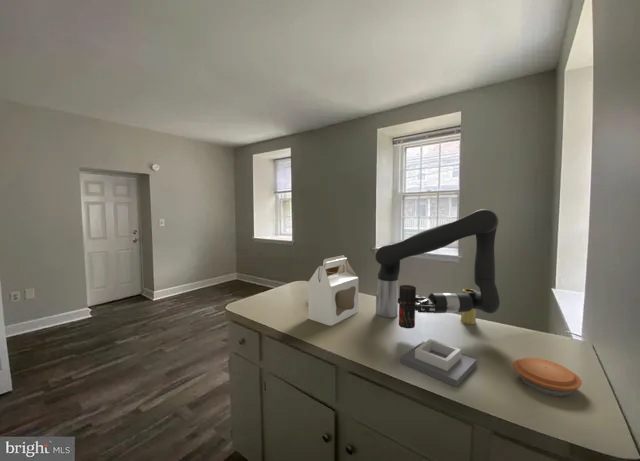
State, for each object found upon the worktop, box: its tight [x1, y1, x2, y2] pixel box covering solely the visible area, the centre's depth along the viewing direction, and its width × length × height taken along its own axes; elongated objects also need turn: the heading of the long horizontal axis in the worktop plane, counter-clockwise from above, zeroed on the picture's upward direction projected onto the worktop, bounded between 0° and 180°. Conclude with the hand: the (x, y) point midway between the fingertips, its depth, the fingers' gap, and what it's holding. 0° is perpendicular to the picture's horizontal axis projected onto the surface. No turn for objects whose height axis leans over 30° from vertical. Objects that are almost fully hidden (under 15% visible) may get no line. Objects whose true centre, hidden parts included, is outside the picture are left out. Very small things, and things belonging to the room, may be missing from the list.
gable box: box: [307, 254, 359, 327], centre depth 136 cm, size 22×13×28 cm, turn 140°
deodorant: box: [398, 284, 417, 330], centre depth 111 cm, size 6×6×15 cm
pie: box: [512, 357, 583, 397], centre depth 83 cm, size 15×16×5 cm
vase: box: [460, 288, 477, 325], centre depth 128 cm, size 6×6×14 cm
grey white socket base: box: [399, 338, 478, 388], centre depth 93 cm, size 18×16×5 cm
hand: (401, 303), depth 110 cm, fingers closed on deodorant, 6 cm apart
